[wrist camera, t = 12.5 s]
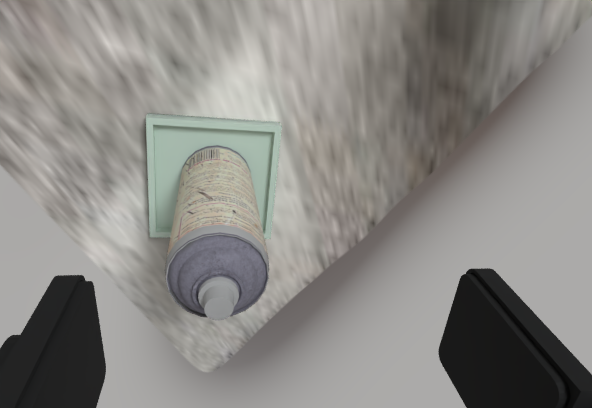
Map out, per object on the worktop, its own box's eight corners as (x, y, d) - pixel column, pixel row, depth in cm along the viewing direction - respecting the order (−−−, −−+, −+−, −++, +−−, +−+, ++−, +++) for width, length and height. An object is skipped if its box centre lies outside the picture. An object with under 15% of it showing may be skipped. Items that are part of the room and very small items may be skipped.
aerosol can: (166, 183, 42) (133, 321, 25) (210, 131, 41) (208, 237, 23) (222, 221, 45) (228, 369, 28) (265, 173, 44) (300, 297, 26)
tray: (279, 122, 42) (281, 126, 41) (268, 231, 47) (270, 238, 46) (148, 113, 40) (145, 117, 39) (151, 230, 45) (149, 237, 44)
